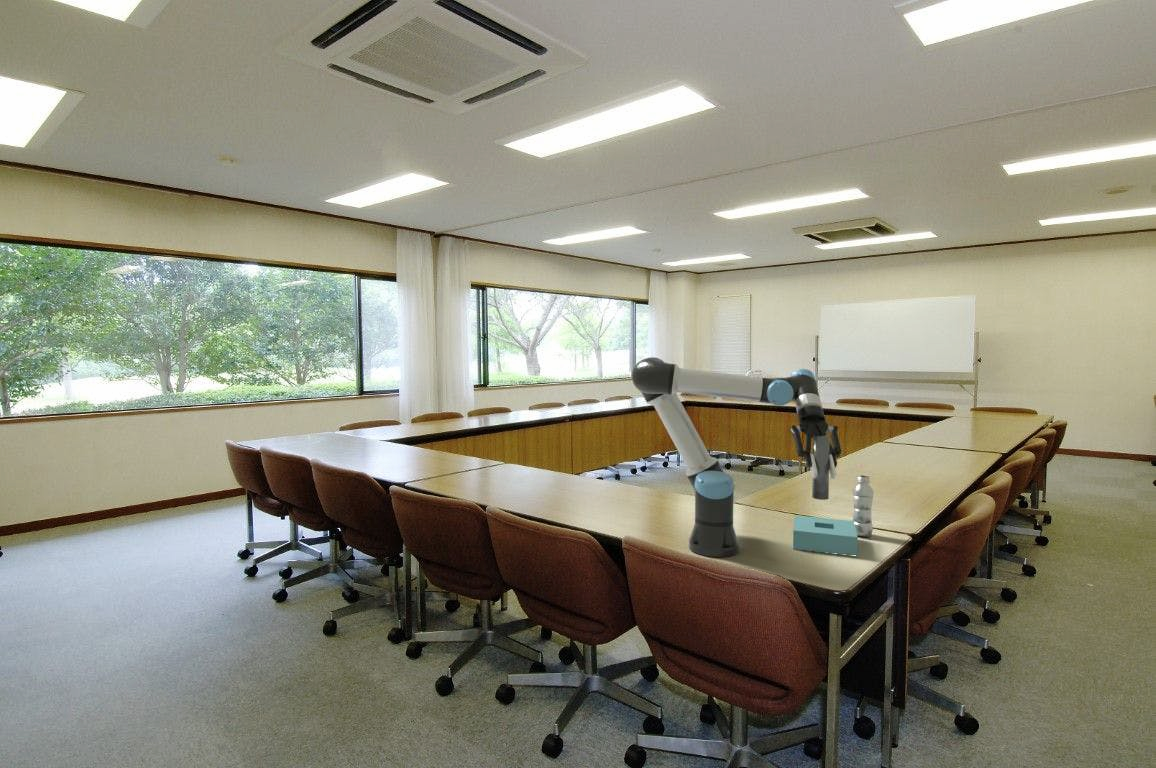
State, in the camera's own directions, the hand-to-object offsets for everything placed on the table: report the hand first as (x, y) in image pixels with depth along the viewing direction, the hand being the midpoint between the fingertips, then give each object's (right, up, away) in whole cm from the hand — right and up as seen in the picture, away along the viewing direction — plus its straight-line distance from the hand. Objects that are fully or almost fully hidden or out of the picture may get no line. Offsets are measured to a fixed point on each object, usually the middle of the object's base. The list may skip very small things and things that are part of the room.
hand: (824, 475), depth 162 cm
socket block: (+9, -25, +21) cm, 34 cm away
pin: (+1, -7, +4) cm, 8 cm away
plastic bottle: (+25, -25, +30) cm, 46 cm away
